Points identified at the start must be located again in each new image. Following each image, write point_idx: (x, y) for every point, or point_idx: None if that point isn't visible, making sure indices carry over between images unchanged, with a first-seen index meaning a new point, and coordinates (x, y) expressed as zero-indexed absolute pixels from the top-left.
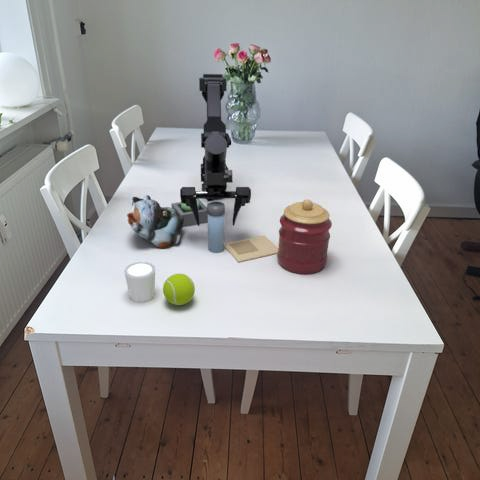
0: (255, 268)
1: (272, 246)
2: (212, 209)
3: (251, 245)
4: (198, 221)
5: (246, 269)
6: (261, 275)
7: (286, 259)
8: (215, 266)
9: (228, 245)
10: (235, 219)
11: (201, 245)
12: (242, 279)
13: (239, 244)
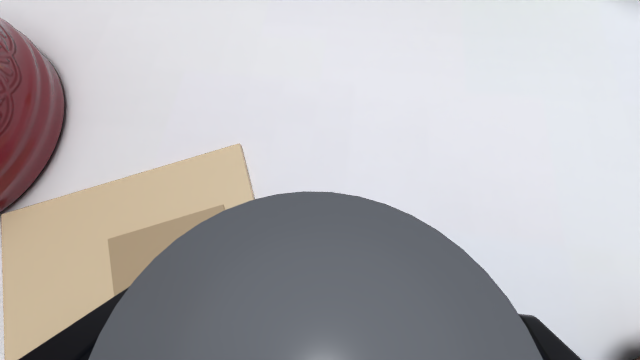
0: (178, 95)
1: (22, 272)
2: (411, 224)
3: None
4: (544, 341)
5: (219, 91)
6: (170, 45)
7: (10, 37)
8: (354, 125)
9: None
10: (99, 306)
11: None
12: (253, 25)
13: None
